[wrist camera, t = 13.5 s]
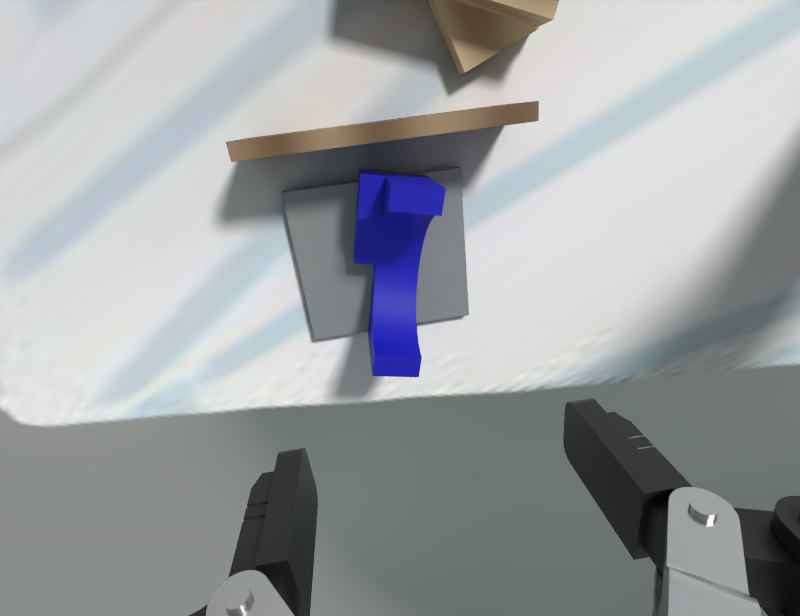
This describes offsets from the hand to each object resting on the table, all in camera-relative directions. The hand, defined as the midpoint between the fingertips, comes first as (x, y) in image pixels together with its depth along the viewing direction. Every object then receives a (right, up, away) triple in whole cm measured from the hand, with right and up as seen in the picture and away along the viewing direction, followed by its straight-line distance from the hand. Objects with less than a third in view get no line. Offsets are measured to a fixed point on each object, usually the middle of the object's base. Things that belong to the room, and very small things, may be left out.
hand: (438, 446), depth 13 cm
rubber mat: (-2, +8, +18) cm, 20 cm away
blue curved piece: (-2, +8, +18) cm, 20 cm away
